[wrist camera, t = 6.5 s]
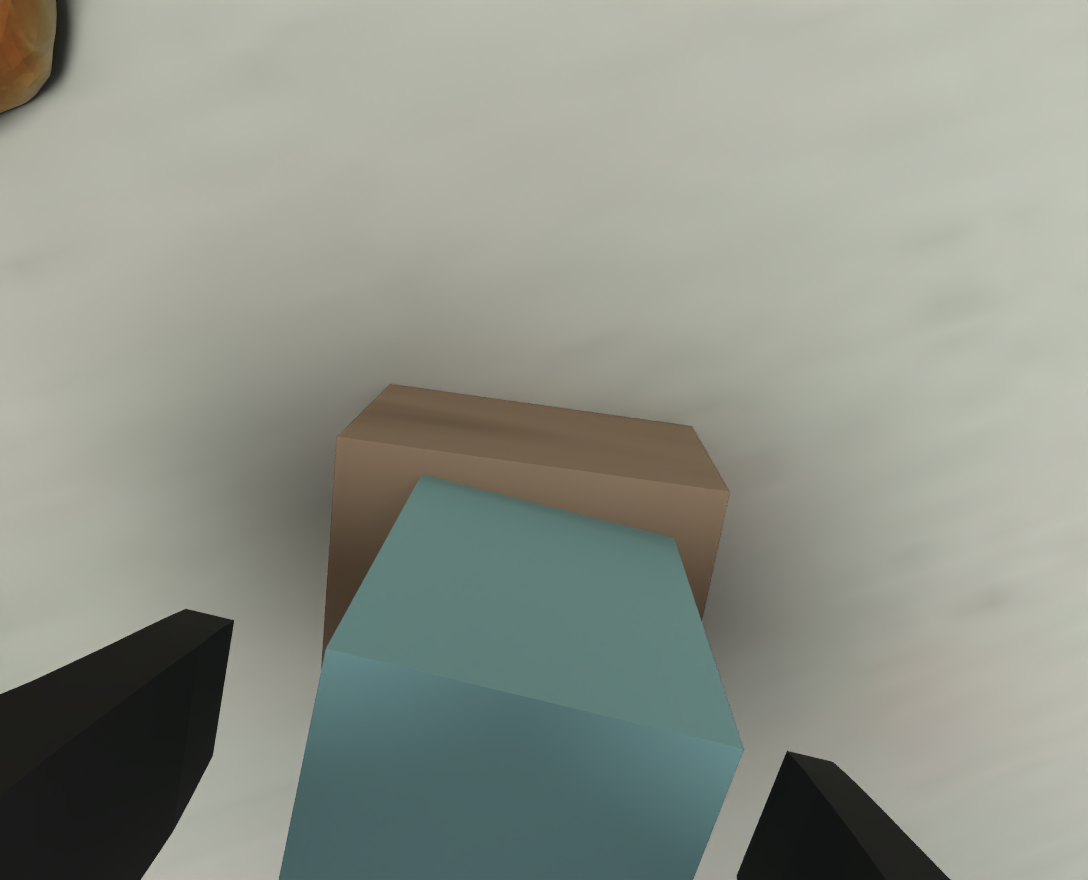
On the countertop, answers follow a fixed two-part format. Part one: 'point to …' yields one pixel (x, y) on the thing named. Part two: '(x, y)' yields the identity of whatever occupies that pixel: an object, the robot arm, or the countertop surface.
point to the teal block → (514, 705)
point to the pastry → (25, 49)
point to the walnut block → (518, 475)
